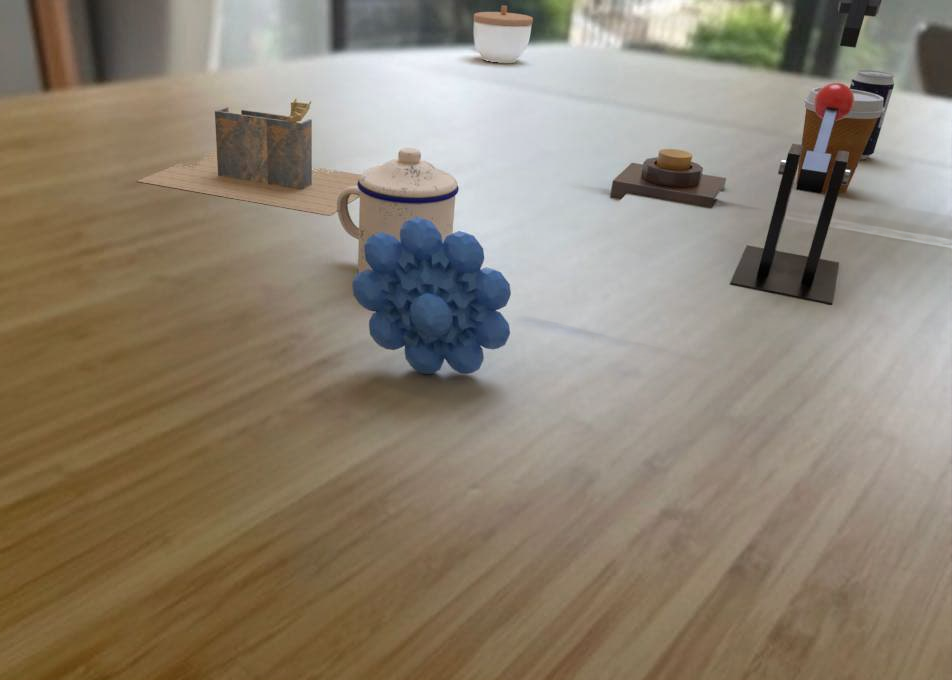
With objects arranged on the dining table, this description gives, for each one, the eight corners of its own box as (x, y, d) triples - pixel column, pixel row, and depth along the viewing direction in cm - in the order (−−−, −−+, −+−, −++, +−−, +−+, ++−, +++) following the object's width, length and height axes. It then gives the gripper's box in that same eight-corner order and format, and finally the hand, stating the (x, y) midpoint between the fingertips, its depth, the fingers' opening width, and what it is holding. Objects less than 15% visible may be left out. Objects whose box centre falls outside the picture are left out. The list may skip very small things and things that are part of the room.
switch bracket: (744, 255, 95) (774, 132, 89) (835, 273, 92) (873, 146, 85) (727, 294, 85) (759, 158, 79) (828, 315, 82) (871, 175, 76)
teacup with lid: (468, 270, 87) (479, 148, 81) (421, 300, 80) (429, 170, 74) (363, 243, 92) (366, 127, 86) (310, 269, 85) (310, 145, 79)
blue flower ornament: (342, 394, 65) (345, 233, 59) (354, 352, 70) (358, 202, 65) (505, 407, 64) (524, 246, 58) (504, 364, 70) (521, 214, 64)
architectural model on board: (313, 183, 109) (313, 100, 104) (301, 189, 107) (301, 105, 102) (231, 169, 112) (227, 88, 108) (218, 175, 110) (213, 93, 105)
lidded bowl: (499, 54, 204) (504, 1, 199) (540, 63, 196) (546, 8, 191) (458, 57, 197) (462, 3, 192) (499, 67, 189) (504, 10, 183)
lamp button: (692, 166, 112) (695, 152, 111) (686, 173, 108) (689, 159, 107) (659, 161, 113) (662, 147, 112) (653, 168, 110) (655, 153, 109)
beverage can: (843, 149, 140) (866, 68, 134) (878, 157, 136) (904, 74, 131) (824, 153, 137) (847, 70, 131) (860, 162, 133) (885, 77, 127)
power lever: (813, 104, 92) (821, 73, 89) (851, 109, 90) (861, 77, 88) (786, 193, 84) (794, 162, 82) (827, 200, 83) (836, 168, 80)
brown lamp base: (722, 195, 114) (729, 163, 112) (709, 216, 106) (717, 182, 104) (628, 179, 118) (634, 148, 117) (609, 198, 110) (615, 165, 109)
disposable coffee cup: (784, 191, 117) (808, 96, 111) (782, 173, 125) (805, 83, 119) (862, 202, 115) (892, 105, 109) (856, 183, 123) (883, 91, 117)
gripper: (962, -115, 96) (912, 70, 91) (831, -122, 101) (777, 54, 96) (984, -178, 89) (931, 18, 84) (842, -182, 94) (785, 4, 89)
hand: (849, 37), depth 90 cm, fingers closed
